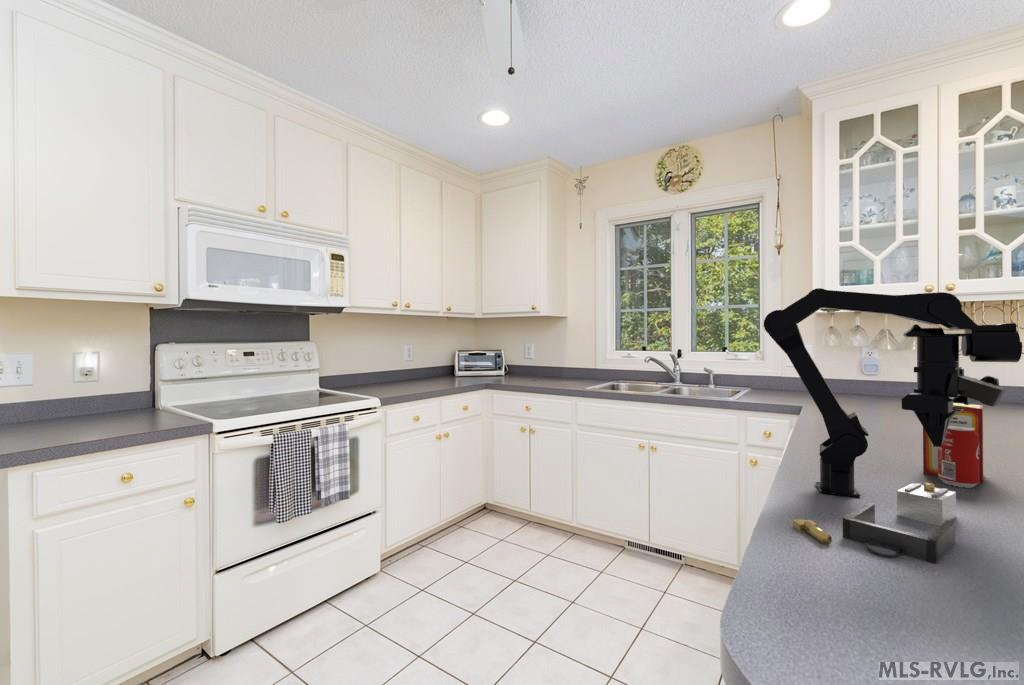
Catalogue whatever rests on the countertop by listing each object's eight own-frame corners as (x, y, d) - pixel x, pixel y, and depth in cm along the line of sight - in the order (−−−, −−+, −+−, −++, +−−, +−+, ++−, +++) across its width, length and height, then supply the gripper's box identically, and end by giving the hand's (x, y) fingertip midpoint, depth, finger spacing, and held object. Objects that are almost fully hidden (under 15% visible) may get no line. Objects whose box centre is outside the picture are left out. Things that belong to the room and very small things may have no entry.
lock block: (912, 507, 85) (911, 477, 85) (956, 518, 80) (955, 486, 80) (897, 516, 82) (896, 484, 82) (942, 527, 77) (942, 494, 77)
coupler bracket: (867, 520, 80) (867, 502, 80) (955, 542, 71) (955, 522, 71) (834, 542, 71) (834, 522, 71) (929, 570, 62) (929, 548, 62)
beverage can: (988, 488, 95) (988, 429, 94) (957, 489, 95) (956, 430, 95) (959, 479, 101) (959, 424, 101) (929, 479, 101) (929, 424, 101)
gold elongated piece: (793, 526, 77) (792, 517, 77) (810, 527, 77) (810, 517, 77) (816, 544, 71) (816, 534, 71) (836, 544, 71) (835, 534, 70)
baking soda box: (923, 473, 105) (922, 403, 105) (926, 468, 110) (925, 400, 110) (982, 482, 99) (982, 407, 98) (983, 476, 103) (982, 403, 103)
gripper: (989, 365, 74) (989, 463, 74) (1009, 361, 85) (1010, 446, 85) (900, 362, 83) (900, 450, 83) (929, 359, 94) (929, 436, 94)
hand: (937, 446), depth 86 cm, fingers closed
